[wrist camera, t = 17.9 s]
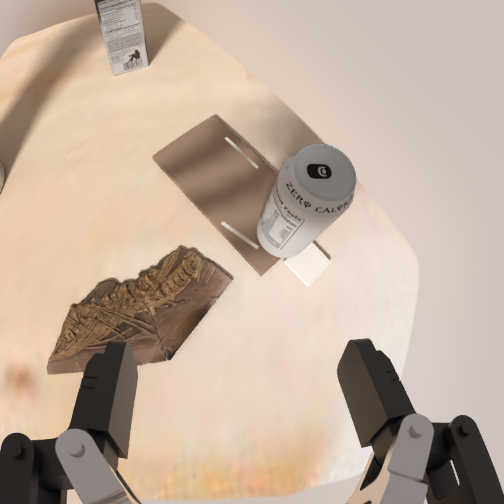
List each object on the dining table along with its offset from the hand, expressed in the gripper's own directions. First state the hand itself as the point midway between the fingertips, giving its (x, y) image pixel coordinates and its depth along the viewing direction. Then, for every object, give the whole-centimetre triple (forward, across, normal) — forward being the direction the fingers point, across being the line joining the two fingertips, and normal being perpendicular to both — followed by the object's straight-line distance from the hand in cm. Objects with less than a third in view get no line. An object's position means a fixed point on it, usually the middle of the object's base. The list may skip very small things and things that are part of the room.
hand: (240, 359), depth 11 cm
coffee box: (+48, +17, -14) cm, 53 cm away
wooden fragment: (+17, +10, +16) cm, 26 cm away
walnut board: (+29, -2, +4) cm, 29 cm away
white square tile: (+23, -10, +10) cm, 27 cm away
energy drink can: (+24, -7, +8) cm, 26 cm away
